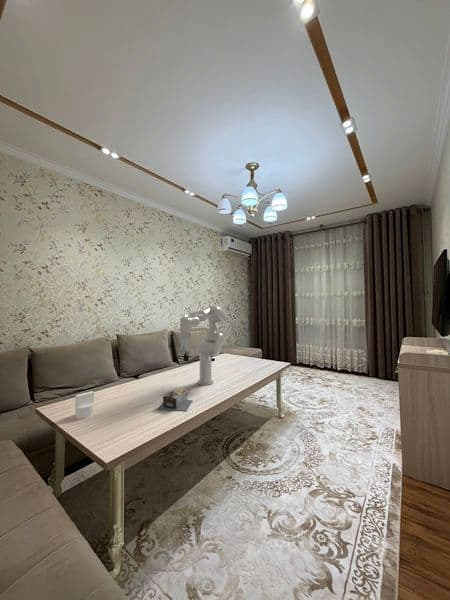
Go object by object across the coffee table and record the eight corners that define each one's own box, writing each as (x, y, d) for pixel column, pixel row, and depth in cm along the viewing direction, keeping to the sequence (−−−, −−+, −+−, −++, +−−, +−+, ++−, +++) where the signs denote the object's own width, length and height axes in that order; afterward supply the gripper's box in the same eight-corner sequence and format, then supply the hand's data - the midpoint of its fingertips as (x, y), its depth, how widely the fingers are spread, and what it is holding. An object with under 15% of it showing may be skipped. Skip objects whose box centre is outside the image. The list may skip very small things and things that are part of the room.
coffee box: (175, 397, 165) (162, 407, 149) (175, 387, 165) (162, 396, 150) (188, 399, 162) (175, 409, 147) (188, 389, 162) (176, 398, 147)
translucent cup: (89, 410, 145) (89, 389, 146) (96, 414, 140) (96, 393, 140) (72, 415, 138) (73, 394, 139) (79, 420, 133) (79, 398, 133)
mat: (165, 399, 162) (165, 398, 162) (192, 400, 161) (192, 400, 161) (156, 409, 146) (156, 409, 146) (186, 411, 145) (186, 410, 145)
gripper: (183, 333, 181) (183, 358, 182) (177, 337, 167) (177, 363, 167) (193, 333, 181) (193, 358, 181) (188, 337, 166) (188, 364, 166)
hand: (186, 361), depth 174 cm, fingers closed
